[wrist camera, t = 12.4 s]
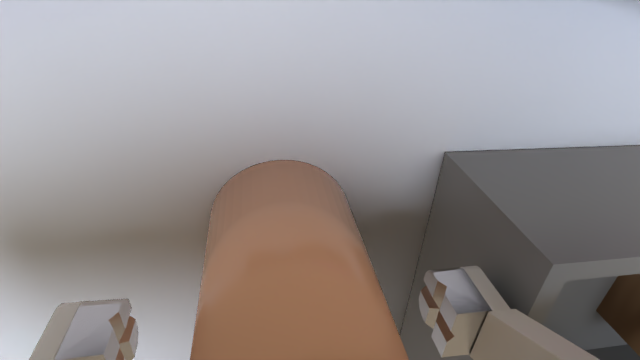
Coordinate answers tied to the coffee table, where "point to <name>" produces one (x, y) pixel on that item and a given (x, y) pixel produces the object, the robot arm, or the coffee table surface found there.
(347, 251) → the terracotta canister
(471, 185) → the box
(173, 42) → the coffee table surface
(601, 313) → the walnut cube
